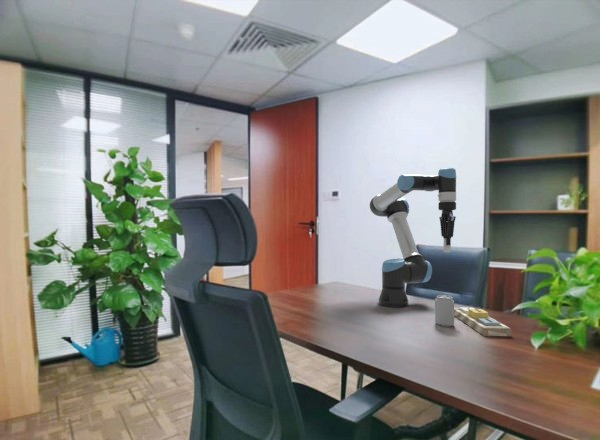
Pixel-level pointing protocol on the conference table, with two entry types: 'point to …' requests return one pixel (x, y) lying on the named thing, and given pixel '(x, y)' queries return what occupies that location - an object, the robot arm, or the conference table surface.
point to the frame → (482, 329)
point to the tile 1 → (465, 309)
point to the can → (444, 310)
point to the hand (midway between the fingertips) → (447, 252)
